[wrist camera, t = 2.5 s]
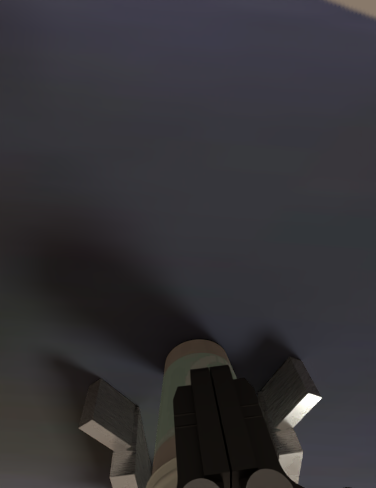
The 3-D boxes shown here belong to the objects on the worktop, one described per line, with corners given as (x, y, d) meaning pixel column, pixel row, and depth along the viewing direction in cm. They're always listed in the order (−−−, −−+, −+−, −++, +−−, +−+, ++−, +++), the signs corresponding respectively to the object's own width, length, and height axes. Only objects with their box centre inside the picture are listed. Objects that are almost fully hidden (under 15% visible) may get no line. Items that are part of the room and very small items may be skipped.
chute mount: (302, 354, 29) (350, 439, 21) (286, 480, 38) (315, 570, 31) (87, 380, 28) (61, 477, 20) (124, 503, 37) (115, 600, 30)
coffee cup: (258, 365, 29) (317, 524, 18) (186, 406, 30) (201, 574, 20) (207, 309, 25) (243, 463, 15) (130, 359, 27) (110, 531, 16)
